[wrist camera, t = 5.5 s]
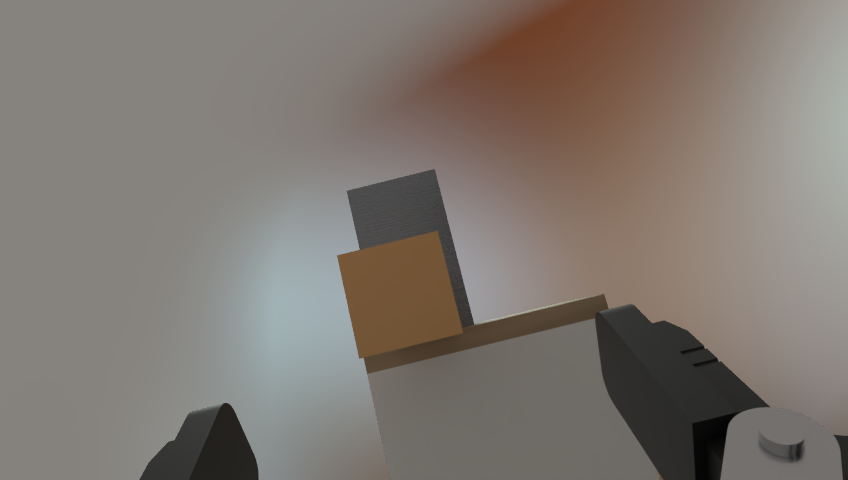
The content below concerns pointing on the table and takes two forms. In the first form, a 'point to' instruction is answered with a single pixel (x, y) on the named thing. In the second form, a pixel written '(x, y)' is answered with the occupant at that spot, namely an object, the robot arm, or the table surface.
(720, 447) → the robot arm
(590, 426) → the plinth
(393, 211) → the grey hammer
